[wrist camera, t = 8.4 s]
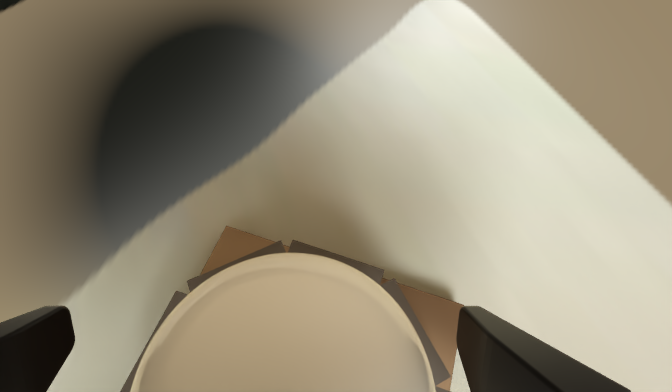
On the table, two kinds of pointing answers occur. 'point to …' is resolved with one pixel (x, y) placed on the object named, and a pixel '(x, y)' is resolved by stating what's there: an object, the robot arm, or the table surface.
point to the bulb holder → (420, 307)
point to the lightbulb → (286, 333)
